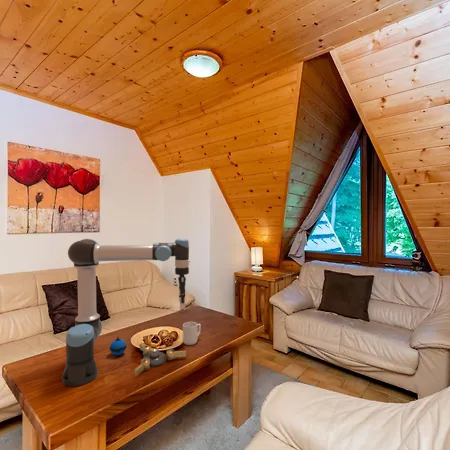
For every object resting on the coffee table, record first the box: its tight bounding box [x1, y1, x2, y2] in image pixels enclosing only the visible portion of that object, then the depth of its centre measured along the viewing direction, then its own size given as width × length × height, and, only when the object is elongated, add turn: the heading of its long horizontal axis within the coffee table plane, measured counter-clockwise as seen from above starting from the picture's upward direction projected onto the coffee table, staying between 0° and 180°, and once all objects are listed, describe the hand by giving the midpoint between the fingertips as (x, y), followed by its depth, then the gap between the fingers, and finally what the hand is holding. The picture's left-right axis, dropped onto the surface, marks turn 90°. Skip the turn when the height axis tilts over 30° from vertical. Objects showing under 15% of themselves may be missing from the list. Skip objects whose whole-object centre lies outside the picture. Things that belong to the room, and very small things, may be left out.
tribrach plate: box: [142, 348, 167, 368], centre depth 150 cm, size 12×12×6 cm
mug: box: [182, 321, 202, 346], centre depth 174 cm, size 12×9×11 cm
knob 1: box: [138, 343, 152, 357], centre depth 158 cm, size 10×4×4 cm, turn 42°
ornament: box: [109, 336, 127, 356], centre depth 157 cm, size 9×9×10 cm
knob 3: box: [166, 349, 187, 361], centre depth 152 cm, size 10×4×4 cm, turn 102°
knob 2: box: [134, 358, 151, 376], centre depth 139 cm, size 10×4×4 cm, turn 162°
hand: (181, 305), depth 157 cm, fingers open, 13 cm apart
